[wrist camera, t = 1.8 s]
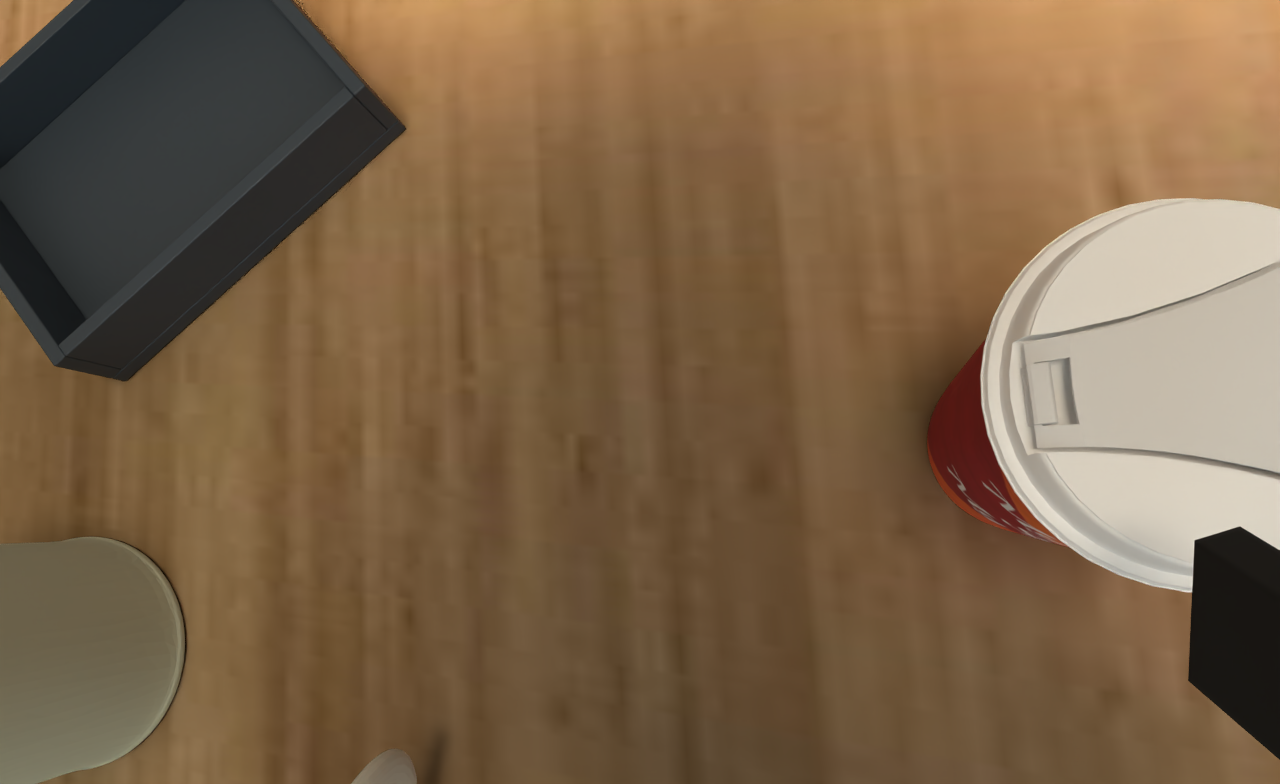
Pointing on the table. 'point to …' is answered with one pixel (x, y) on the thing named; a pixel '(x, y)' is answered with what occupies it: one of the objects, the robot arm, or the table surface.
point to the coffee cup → (1128, 390)
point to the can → (82, 655)
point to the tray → (165, 163)
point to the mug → (388, 769)
